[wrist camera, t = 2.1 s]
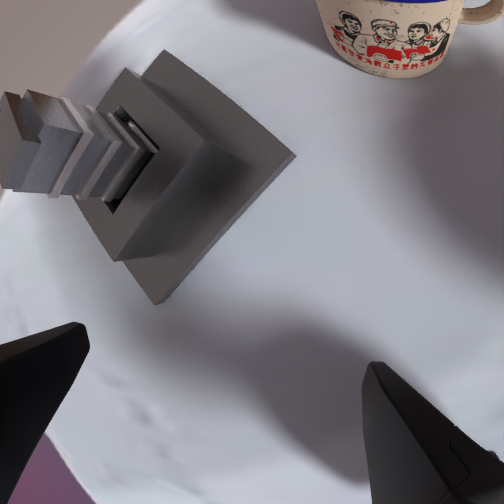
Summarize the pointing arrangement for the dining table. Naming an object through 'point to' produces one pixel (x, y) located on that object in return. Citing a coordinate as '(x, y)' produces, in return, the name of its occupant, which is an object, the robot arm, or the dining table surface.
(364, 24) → the teacup with lid
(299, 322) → the dining table surface
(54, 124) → the column
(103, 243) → the stand base
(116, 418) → the dining table surface
